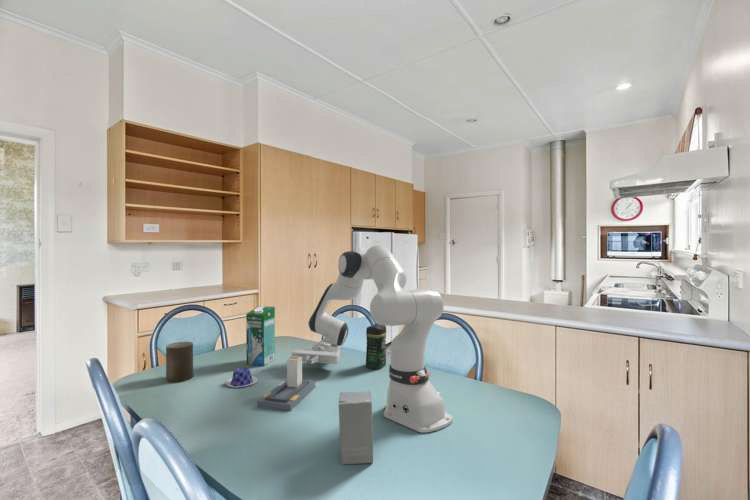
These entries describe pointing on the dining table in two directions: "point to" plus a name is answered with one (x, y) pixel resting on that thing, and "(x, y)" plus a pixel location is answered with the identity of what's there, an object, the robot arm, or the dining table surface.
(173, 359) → the pillar candle
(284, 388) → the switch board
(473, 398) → the dining table surface
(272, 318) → the milk carton
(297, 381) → the white rectangular block
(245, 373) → the pudding
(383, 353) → the coffee jar
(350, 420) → the skincare box
